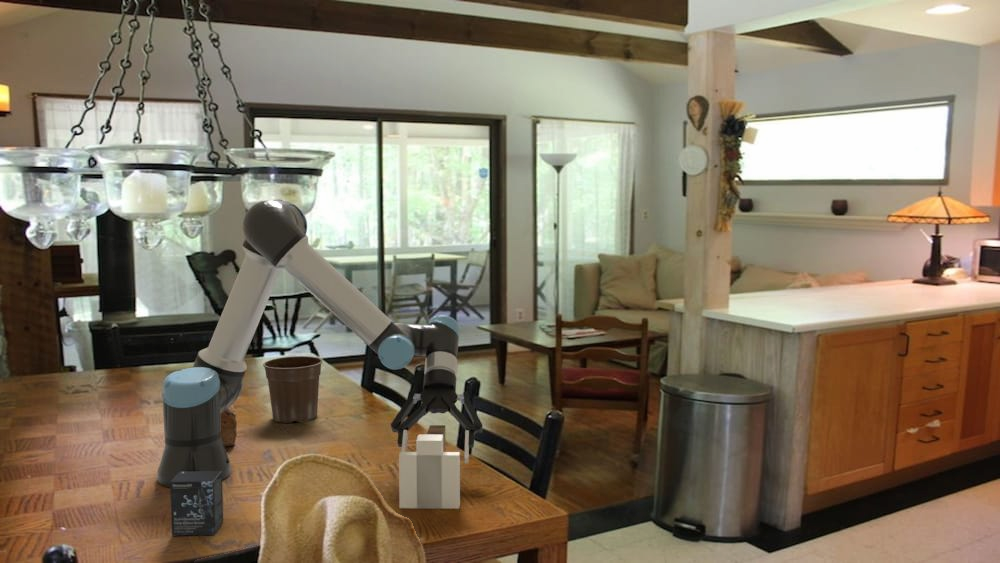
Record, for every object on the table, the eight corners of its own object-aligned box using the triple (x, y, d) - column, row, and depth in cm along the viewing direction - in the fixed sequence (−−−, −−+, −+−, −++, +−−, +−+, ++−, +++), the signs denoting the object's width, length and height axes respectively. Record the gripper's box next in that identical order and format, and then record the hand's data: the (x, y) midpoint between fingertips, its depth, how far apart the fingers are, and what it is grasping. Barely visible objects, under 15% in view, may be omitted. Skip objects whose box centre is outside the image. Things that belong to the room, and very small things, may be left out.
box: (171, 537, 141) (169, 481, 140) (182, 524, 147) (180, 470, 146) (215, 536, 142) (213, 480, 141) (224, 523, 147) (222, 469, 146)
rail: (440, 499, 159) (439, 448, 158) (422, 499, 159) (421, 448, 158) (446, 472, 175) (445, 425, 174) (429, 472, 175) (429, 425, 174)
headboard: (459, 508, 155) (459, 440, 153) (399, 508, 155) (398, 440, 153) (461, 493, 163) (461, 428, 161) (404, 493, 163) (404, 428, 161)
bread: (238, 446, 193) (236, 407, 192) (192, 452, 189) (190, 412, 188) (230, 426, 210) (229, 390, 209) (188, 431, 206) (186, 394, 205)
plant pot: (252, 422, 213) (250, 364, 212) (288, 407, 228) (286, 353, 227) (301, 428, 208) (299, 369, 206) (335, 413, 222) (334, 358, 221)
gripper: (494, 384, 182) (492, 468, 169) (388, 384, 182) (379, 467, 169) (493, 367, 176) (492, 452, 163) (384, 366, 177) (374, 451, 163)
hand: (434, 460), depth 166 cm, fingers open, 13 cm apart
